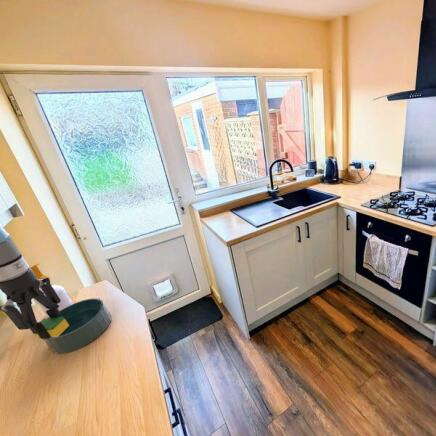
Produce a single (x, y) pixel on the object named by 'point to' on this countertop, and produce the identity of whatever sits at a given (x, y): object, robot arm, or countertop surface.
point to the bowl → (80, 325)
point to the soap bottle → (58, 289)
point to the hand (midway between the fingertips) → (53, 330)
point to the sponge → (54, 326)
